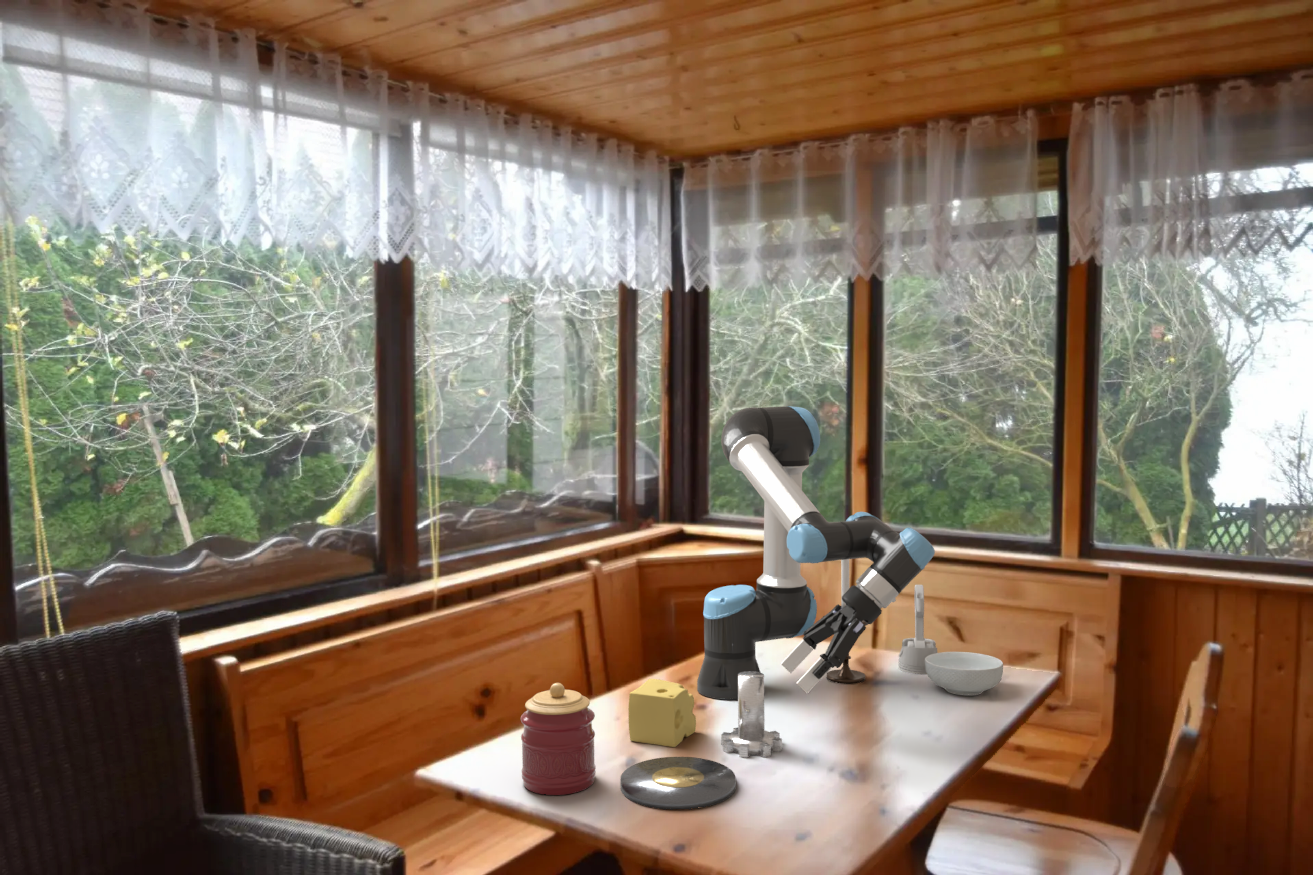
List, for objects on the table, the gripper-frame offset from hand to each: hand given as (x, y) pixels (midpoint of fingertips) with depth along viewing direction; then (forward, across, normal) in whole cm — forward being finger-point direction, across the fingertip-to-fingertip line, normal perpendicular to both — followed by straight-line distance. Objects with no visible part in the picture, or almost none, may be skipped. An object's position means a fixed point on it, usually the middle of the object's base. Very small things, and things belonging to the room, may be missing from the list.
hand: (793, 678), depth 192 cm
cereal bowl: (-23, +31, -42) cm, 57 cm away
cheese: (+27, +9, +8) cm, 30 cm away
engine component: (-20, +50, -40) cm, 67 cm away
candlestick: (-6, +44, -26) cm, 51 cm away
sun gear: (+15, +1, -4) cm, 16 cm away
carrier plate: (+26, -16, +8) cm, 32 cm away
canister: (+41, -12, +22) cm, 48 cm away
